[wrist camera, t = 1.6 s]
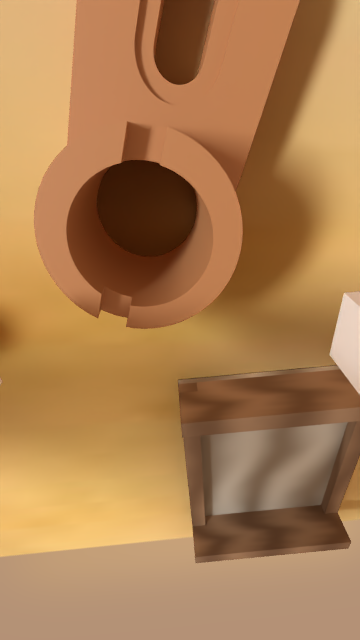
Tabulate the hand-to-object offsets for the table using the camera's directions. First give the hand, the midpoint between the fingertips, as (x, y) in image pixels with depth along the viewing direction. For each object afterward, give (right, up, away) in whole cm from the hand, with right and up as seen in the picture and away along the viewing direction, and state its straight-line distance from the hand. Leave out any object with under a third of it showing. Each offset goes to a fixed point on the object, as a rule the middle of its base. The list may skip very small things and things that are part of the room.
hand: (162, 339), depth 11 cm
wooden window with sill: (+10, -13, +20) cm, 26 cm away
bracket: (0, +12, +5) cm, 13 cm away
